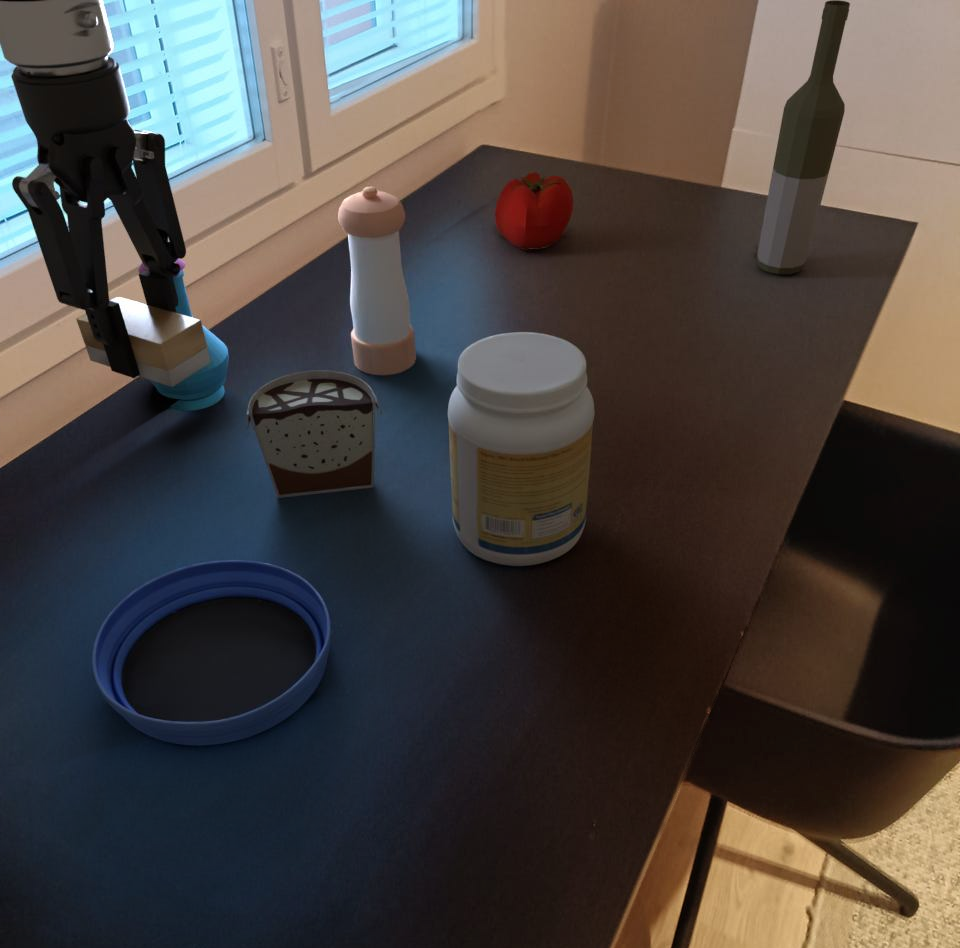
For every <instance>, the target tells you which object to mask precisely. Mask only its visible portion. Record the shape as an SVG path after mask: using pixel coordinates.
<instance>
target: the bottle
mask: <svg viewBox="0 0 960 948" xmlns="http://www.w3.org/2000/svg"><path fill="white" fill-rule="evenodd" d="M850 7H851V3H850V2H849V1H845V0H827V1H825V2H824V6H823V8H822V14H821V23H820V27H819V33H818V37H817V40H816V46H815V52H814V57H813V61H812V66H811V70H810V74H809V77H808V79H807V80H806V81H805V83H803V84H802V86H800V87H799V88H798V89H797V90H796V91H795V92H794V93H792V95H791V96H790V97H789V98H788V99H787V100H786V102H785V104H784V107H783V111H782V118H781V122H780V128H779V133H778V139H777V143H776V144H777V145H776V150H775V155H774V161H773V165H772V171H771V178H770V183H769V188H768V194H767V199H766V205H765V210H764V215H763V221H762V226H761V232H760V237H759V243H758V248H757V252H756V264H757V267H758V268H760V269H761V270H763V271H765V272H767V273H770V274H774V273H775V274H774V275H793V274H796V273H799V272H801V271H802V269H803V268H804V267H805V265H806V263H807V260H808V255H809V252H810V248H811V245H812V244H811V243H812V239H813V236H814V231H815V228H816V224H817V220H818V217H819V212H820V209H821V205H822V202H823V197H824V193H825V189H826V185H827V182H828V178H829V175H830V170H831V166H832V162H833V159H834V155H835V150H836V147H837V142H838V138H839V134H840V132H841V127H842V124H843V119H844V115H845V108H846V107H845V102H844V100H843V98H842V96H841V94H840V93H839V91H838V89H837V87H836V84H835V82H834V75H835V70H836V66H837V61H838V57H839V52H840V48H841V45H842V40H843V35H844V30H845V26H846V22H847V20H848V16H849V12H850Z"/></svg>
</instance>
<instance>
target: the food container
mask: <svg viewBox="0 0 960 948" xmlns="http://www.w3.org/2000/svg"><path fill="white" fill-rule="evenodd" d="M376 409H377V410H378V412H379V415H381V416H382V415H383V413H382V410H381V406H380V403H379V401H378V397H377V396H376V394H375V393H374V390H373V389H372V387H371V386H370V385H369V384H368V383H367V382H366V381H364V380H363V379H361V378H360V377H357V376H356V375H353V374H349V373H346V372H342V371H336V370H328V369H317V370H303V371H298V372H292V373H289V374H286V375H282V376H280V377H277V378H275V379H272V380H271V381H269V382H267V383H265V384H264V385H262V386H260V387H259V388H258V389H257V390H256V391H254V393H253V394H252V396H251V397H250V399H249V402H248V405H247V409H246V413H245V414H246V415H245V416H246V417H245V419H246V420H245V421H246V425H245V426H246V427H245V428H246V429H249V426H250V422H251V424H252V426H253V430H254V433H255V436H256V438H257V441H258V444H259V448H260V450H261V453H262V457H263V459H264V463H265V466H266V468H267V471H268V474H269V478H270V480H271V484H272V487H273V489H274V492H275V495H276V497H277V499H281V498H290V497H291V498H292V497H299V496H309V495H318V494H328V493H337V492H344V491H345V492H346V491H353V490H363V489H372V488H375V448H376V447H375V445H376V444H375V441H376V440H375V438H376V437H375V436H376Z"/></svg>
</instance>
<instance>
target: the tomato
mask: <svg viewBox="0 0 960 948" xmlns="http://www.w3.org/2000/svg"><path fill="white" fill-rule="evenodd" d="M518 178H519V179H518ZM573 211H574V196H573V191H572V189H571V187H570V186H569V184H568V182H567V181H566V180H565V178H563V177H561V176H559V175H551V176H548V177H545V176H542V177H541V176H540V175H539V173H538V172H536V171H534V172H531V173H527V174H526V175H525V176H524V177H523V176H518V177H515V178H513V179H511V180H509V181H508V182H507V183H506V184H505V186H504V187H503V188H502V190H501V191H500V194H499V197H498V198H497V202H496V207H495V211H494V221H495V222H494V223H495V225H496V228H497V231H498V232H499V234H500V235H501V236H502V237H503V238H504V239H506V240H507V241H508V242H509V243H510V244H511V245H513V246H514V247H516V246H517V247H516V248H518V247H519V249H520V248H524V249H529V248H542V247H546V246H548V247H550V246H552V245H554V244H555V243H556V242H557V241H559V240H560V239H561V237H562V236H563V234H564V231H565V230H566V228H567V226H568V224H569V222H570V220H571V218H572V214H573ZM546 248H547V247H546ZM542 249H543V248H542Z"/></svg>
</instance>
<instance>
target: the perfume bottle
mask: <svg viewBox="0 0 960 948" xmlns="http://www.w3.org/2000/svg"><path fill="white" fill-rule="evenodd" d="M175 263H177V264H179V265H180V272H179V274H178V275H176V276H174V275H172V276H173V280H174V284H175V289H176V292H177V296H178V306H177V307H175V308H176V312H177V313H178V314H181V315H185V316H188V317H192V318H195V317H194V316H193V313H192V310H191V306H190V302H189V297H188V293H187V289H186V285H185V284H186V283H185V281H184V276H185V272H184V269H185V268H186V263H185V261H184V260H182V259H180V258H178V259H177V260H176V261H175ZM137 270H138V272H137V273H138V274H139V273H141V272H143V271H147V272H149V269H148V268H146V267H145V266H144V265H143V263H142V262H141V264H140V265H139V267H138V269H137ZM202 327H203V331H204V335H205V339H206V343H207V347H208V352H209V356H210V360H211V362H210V363H209V364H207V365H206V366H204V367H203V368H201V369H200V370H198V371H196V372H195V373H193V374H192V375H190V376H189V377H187V378H186V379H184V380H182V381H181V382H179V383H178V384H176V385H175V386H173V387H171V386H168V385H164V384H161V383H158V382H155V381H152V380H149V381H150V383H151V384H152V385H153V386H154V387H155V389H156V391H157V392H158V393H159V394H160V395H162V396H164V397H166V398H169V399H175V400H177V401H176V402H174V403H173V404H171V405H170V406H169V408H171V409H174V410H177V411H184V412H185V411H187V412H188V411H198V410H203V409H207V408H209V407H211V406H214V405H216V404H217V403H218V402H220V401H221V400H222V399H223V398H224V396H225V392H226V390H225V384H226V382H227V372H228V369H229V368H228V367H229V361H230V357H229V350H228V346H227V345H226V344H225V342H223V341H222V340H221V339H220V338H219V337H217V335H215V334H214V333H213V332H211V331H210V330H209V329H208V328H206V327H205V326H204V325H203V324H202Z"/></svg>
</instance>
